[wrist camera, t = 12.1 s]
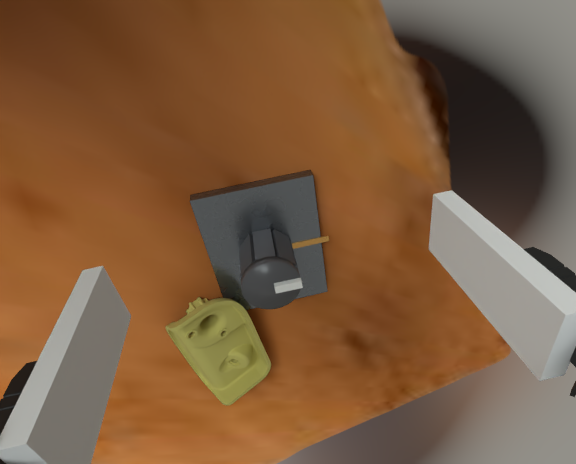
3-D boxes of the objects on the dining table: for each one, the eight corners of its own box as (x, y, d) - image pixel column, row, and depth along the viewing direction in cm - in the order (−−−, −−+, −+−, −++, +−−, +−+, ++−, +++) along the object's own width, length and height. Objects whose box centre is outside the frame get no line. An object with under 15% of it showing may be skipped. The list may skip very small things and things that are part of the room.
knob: (246, 276, 47) (248, 318, 41) (234, 235, 43) (235, 274, 37) (295, 266, 47) (305, 305, 41) (288, 224, 44) (298, 260, 38)
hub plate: (190, 194, 41) (186, 221, 36) (318, 167, 42) (332, 190, 37) (228, 306, 51) (229, 339, 46) (331, 283, 52) (343, 313, 47)
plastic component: (274, 370, 57) (220, 413, 54) (250, 340, 62) (199, 378, 59) (236, 286, 45) (162, 335, 41) (210, 259, 50) (143, 300, 47)
